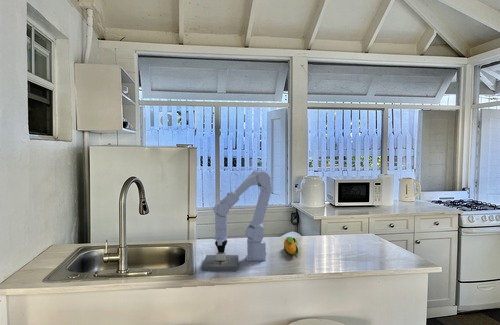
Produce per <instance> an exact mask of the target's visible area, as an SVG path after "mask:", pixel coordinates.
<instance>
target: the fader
mask: <svg viewBox="0 0 500 325" xmlns="http://www.w3.org/2000/svg"><path fill="white" fill-rule="evenodd" d="M215 255H216V261H225V255H226V252H224V253H218V252H216V254H215Z"/></svg>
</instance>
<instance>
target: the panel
mask: <svg viewBox="0 0 500 325" xmlns="http://www.w3.org/2000/svg"><path fill="white" fill-rule="evenodd" d="M239 257H240V256H239V254H225V261H216V254H207V255H206V256H205V258H204V260H203V263H202V265H201V272H202V271H203V272H213V271H214V272H229V271H230V272H231V271H233V272H237V271H238V267H239Z"/></svg>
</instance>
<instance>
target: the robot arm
mask: <svg viewBox="0 0 500 325" xmlns="http://www.w3.org/2000/svg"><path fill="white" fill-rule="evenodd" d="M271 179H272V177H271V175H270V174H269V173H268V172H266V171H263V170H262V171H261V170H253V171H252V172H251V173H250V174H249V175H247V177H246V178H245V180H244V181H242V183H240V185H239V186H238V187H237V188H236V189H235V190H234V191H230V192H227V193H226V196H225V197H223V199H222V200H219V202H217V203H215V205H214V207H213V212H214V214H215V215H214V216H215V217H214V221H215V223H214V233H215V234H214V235H215V236H212V240H215V241H214V245H215V247H216V249H217V253H225V250H226V246H227V244H228V239H229V237H228V214H229V213H230V210H231V209H232V208H233V207H234V205H236V204H237V203H238V201H239V200H240V196H241V195H243V193H245V192H246V191H247V190H249V188H250V187H252V186H257V187H258V189H259V190H260V191H259V194H258V198H257V202H256V206H255V209H254V213H253V217H252V220H251V221H250V222H249V223H248V227H246V229H245V231H244V232H245V235H246V237H247V241H246V245H247V246H246V249H247V250H246V252H247V253H246V261H247V262H248V261H249V262H250V261H251V262H252V261H254V262H255V261H258V262H259V261H262V262H264V261H265V262H266V261H267V260H266V259H267V252H266V247H267V244H266V240H263V239H264V238H265V237H264V230H265V227H264V224H263V223H264V220H265V217H266V216H265V215H266V212H267V208H268V205H269V201H270V198H271V193H272V190H273V187H272V183H271Z"/></svg>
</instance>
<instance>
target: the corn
mask: <svg viewBox="0 0 500 325" xmlns="http://www.w3.org/2000/svg"><path fill="white" fill-rule="evenodd" d="M298 245H299V244H298V241H297V239H296V238H295V237H292V236H287V237H286V239H285V240H284V241H283V250H284V251H285V253H286V254H288V255H295V256H298V254H299V248H298Z"/></svg>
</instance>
